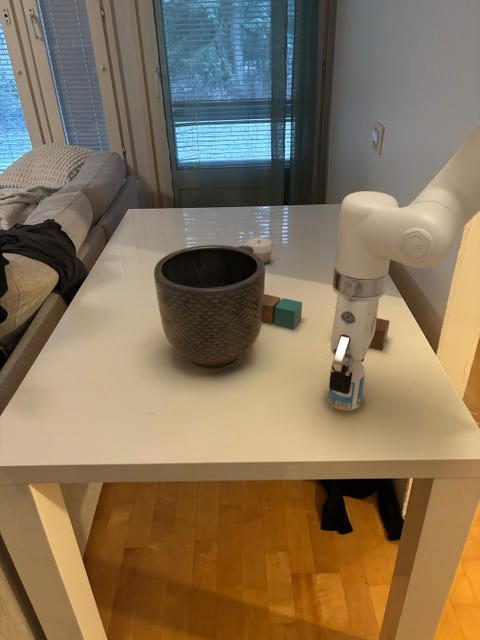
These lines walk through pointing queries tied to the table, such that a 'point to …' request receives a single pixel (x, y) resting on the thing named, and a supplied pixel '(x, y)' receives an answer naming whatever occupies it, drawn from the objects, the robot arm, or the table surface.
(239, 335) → the planter
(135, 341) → the table surface
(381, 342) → the block
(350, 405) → the pill bottle
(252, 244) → the white pillar candle
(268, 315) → the block
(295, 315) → the block
